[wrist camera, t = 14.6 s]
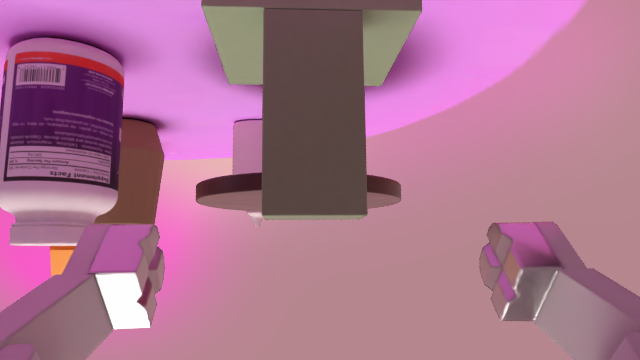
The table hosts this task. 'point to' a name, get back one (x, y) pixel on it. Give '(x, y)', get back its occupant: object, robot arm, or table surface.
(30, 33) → the table surface
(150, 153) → the squeeze bottle
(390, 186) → the little table
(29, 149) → the pill bottle
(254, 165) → the eye dropper bottle
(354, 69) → the chair
